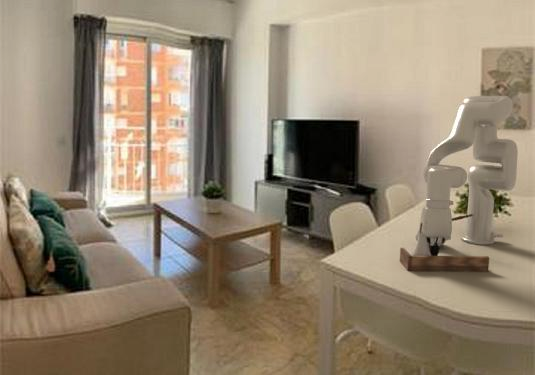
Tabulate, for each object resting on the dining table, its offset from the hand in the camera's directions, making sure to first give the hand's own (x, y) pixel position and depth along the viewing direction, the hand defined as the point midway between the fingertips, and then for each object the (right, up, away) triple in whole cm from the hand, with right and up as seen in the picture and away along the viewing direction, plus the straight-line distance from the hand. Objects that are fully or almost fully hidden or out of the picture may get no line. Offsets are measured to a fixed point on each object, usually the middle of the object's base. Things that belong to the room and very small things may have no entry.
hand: (433, 255), depth 163 cm
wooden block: (+3, -4, 0) cm, 5 cm away
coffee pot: (+11, 0, +22) cm, 24 cm away
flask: (-4, -2, 0) cm, 5 cm away
